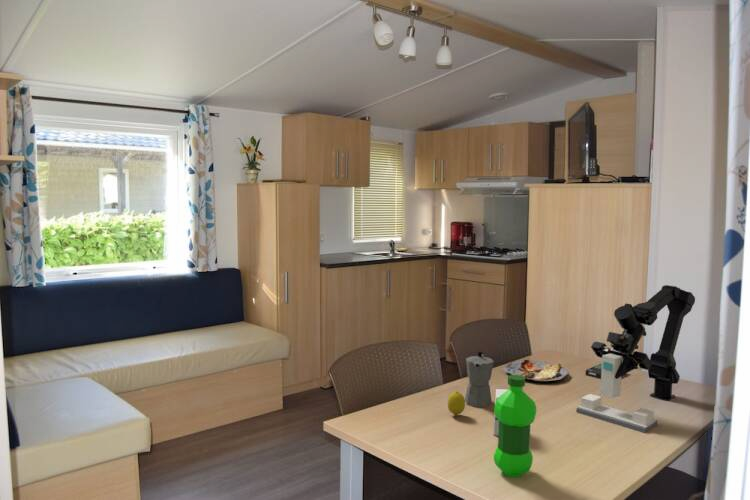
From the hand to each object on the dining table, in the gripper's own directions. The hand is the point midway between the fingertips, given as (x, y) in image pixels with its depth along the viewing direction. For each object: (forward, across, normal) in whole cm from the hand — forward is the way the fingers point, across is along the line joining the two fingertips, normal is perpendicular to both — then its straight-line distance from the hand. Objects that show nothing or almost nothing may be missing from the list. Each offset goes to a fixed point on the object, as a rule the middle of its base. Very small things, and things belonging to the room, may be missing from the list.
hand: (608, 376), depth 187 cm
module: (+4, 0, +6) cm, 7 cm away
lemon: (+38, -27, -19) cm, 51 cm away
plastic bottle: (+49, +9, -29) cm, 57 cm away
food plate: (-2, -42, +22) cm, 47 cm away
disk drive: (-19, -26, +39) cm, 51 cm away
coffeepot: (+28, -32, -8) cm, 43 cm away
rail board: (+8, +2, +11) cm, 14 cm away
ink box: (+36, -11, -17) cm, 41 cm away
